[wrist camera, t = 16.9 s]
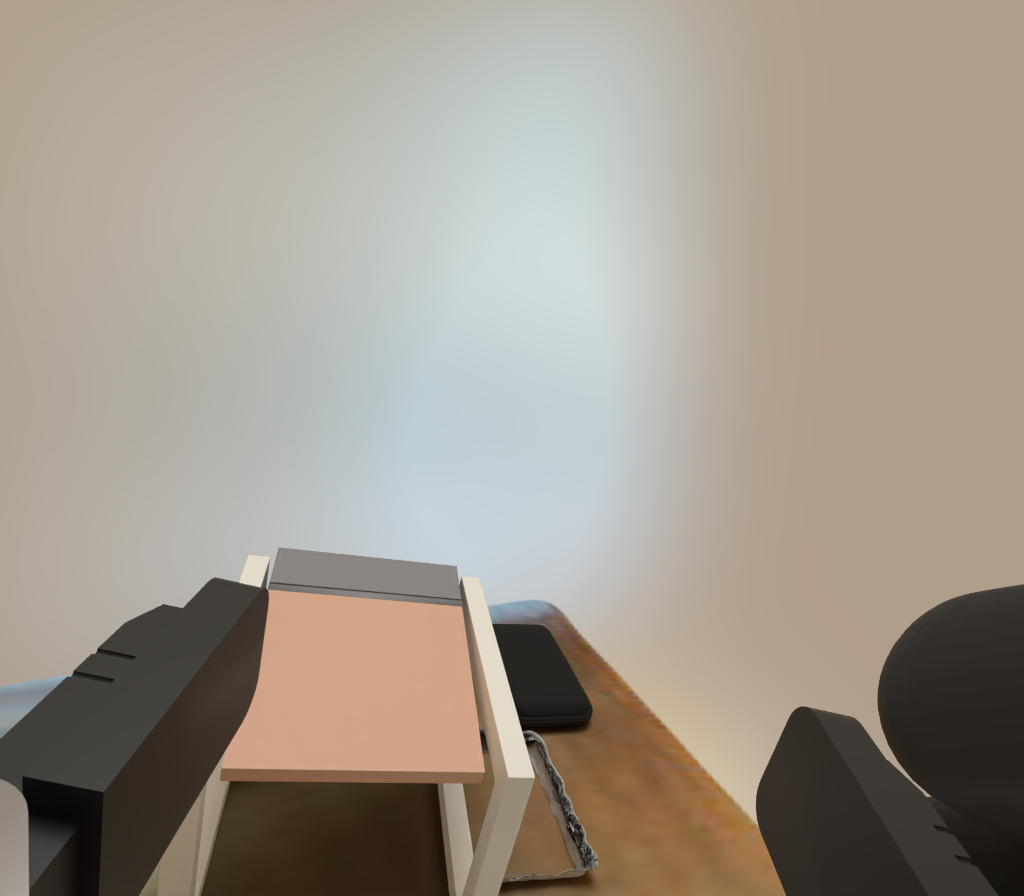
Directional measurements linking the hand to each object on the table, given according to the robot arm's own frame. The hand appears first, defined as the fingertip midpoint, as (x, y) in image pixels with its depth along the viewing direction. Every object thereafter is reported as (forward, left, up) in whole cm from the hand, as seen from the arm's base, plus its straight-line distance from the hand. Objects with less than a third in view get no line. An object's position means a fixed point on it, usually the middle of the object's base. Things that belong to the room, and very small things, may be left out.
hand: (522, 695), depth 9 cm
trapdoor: (-1, -29, -25) cm, 38 cm away
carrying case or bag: (-19, -45, -37) cm, 61 cm away
